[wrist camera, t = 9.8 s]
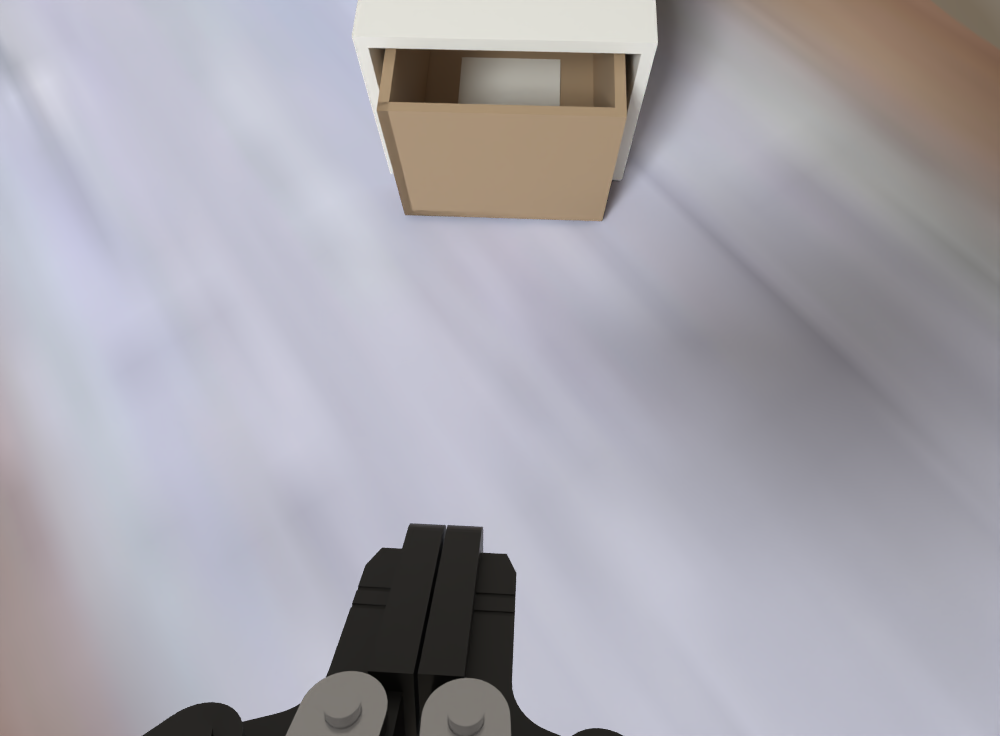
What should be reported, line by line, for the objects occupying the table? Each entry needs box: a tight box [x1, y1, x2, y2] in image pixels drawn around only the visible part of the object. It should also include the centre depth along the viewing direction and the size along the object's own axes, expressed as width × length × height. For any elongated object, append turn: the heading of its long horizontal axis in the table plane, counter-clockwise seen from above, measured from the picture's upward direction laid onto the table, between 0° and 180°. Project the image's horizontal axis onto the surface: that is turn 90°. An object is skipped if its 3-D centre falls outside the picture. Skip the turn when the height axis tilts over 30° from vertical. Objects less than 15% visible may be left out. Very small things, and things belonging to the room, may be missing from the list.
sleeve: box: [352, 0, 658, 180], centre depth 34 cm, size 12×14×10 cm
